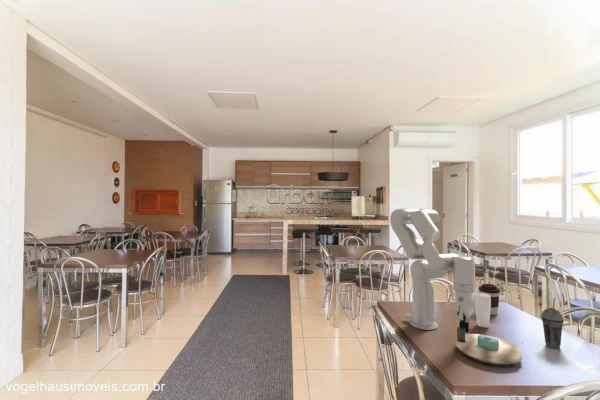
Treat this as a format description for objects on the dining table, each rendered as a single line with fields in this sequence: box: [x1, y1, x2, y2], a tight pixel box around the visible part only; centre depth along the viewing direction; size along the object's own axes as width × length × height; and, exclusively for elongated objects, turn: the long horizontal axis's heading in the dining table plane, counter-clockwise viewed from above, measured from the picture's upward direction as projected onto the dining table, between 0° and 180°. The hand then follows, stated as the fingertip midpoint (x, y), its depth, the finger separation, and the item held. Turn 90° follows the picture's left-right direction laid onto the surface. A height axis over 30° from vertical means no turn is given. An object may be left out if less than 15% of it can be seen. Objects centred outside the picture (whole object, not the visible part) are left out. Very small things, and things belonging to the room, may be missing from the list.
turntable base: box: [463, 353, 514, 367], centre depth 118 cm, size 18×18×2 cm
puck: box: [478, 334, 499, 351], centre depth 117 cm, size 7×7×3 cm
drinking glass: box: [474, 292, 491, 329], centre depth 146 cm, size 7×7×15 cm
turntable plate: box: [455, 326, 523, 365], centre depth 118 cm, size 22×22×6 cm
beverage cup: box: [540, 297, 565, 350], centre depth 124 cm, size 7×7×20 cm
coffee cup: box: [478, 283, 501, 316], centre depth 164 cm, size 10×10×15 cm
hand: (464, 331), depth 124 cm, fingers closed
